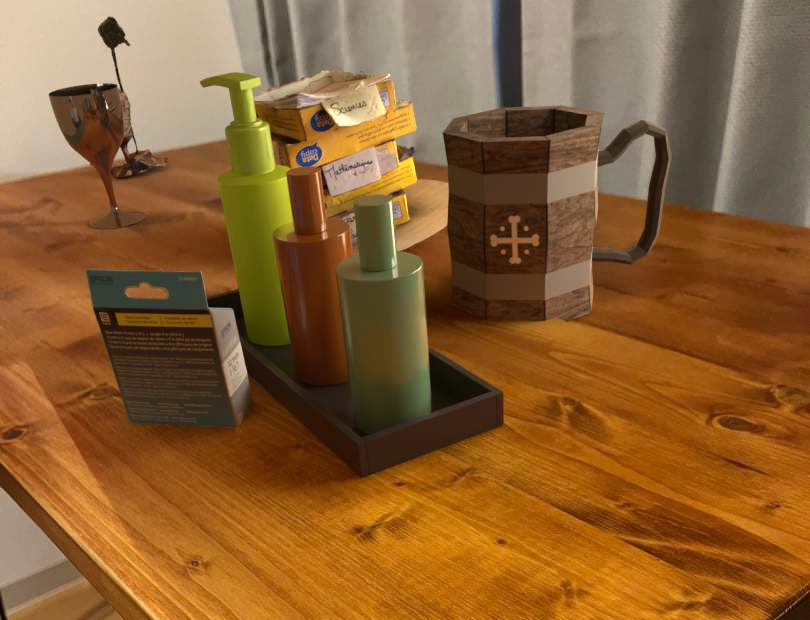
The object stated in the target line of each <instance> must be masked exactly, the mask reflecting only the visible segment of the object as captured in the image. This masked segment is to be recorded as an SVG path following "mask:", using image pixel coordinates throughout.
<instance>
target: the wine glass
mask: <svg viewBox="0 0 810 620" xmlns="http://www.w3.org/2000/svg"><path fill="white" fill-rule="evenodd" d="M118 86H119V85H118V84H116V83H112V82H111V83H108V82H106V83H103V82H101V83H99V82H98V83H88V84H81V85H79V84H78V85H74V86H67V87H63V88H59V89H56V90H53V91H51V92H49V93H48V98H49V102H50V106H51V109H52V112H53V115H54V118H55V120H56V123H57V125H58V127H59V129H60V132H61V134H62V136H63V137H64V139H65V141H66V142H67V144H68V146H70V147H71V148H72V149H73V150H74V152H76V153H77V154H78V155H79V156H81V157H82V158H84V160H86V161H87V162H88V163H89V164H90V163H91V164H92V167H93V168H94V169H95V170H96V171H97V173H98V175H99V176H100V178H101V181H102V183H103V185H104V188H105V191H106V194H107V198H108V201H109V205H110V211H109V212H107V213H105V214H102V215H99V216H97V217H95V218H93V219H91V220H90V221H89V223H88V225H89V227H90V228H92V229H97V230H98V229H99V230H108V229H110V230H111V229H118V228H123V227H128V226H132V225H134V224H135V225H136V224H137V223H139V222H142V221H143V220H145V218H146V217H147V215H146V214H145V213H144V212H142V211H138V210H122V209H120V208H119V206H118V203H117V201H116V200H117V199H116V196H115V191H114V187H113V186H114V185H113V179H112V174H111V169H112V168H113V165H114V161H115V158H116V157H117V154H118V152H119V150H120V149H121V148H120V146H121V144H122V141H123V138H124V115H123V108H122V103H121V98H120V93H119V89H120V88H119V87H118ZM118 88H119V89H118Z"/></svg>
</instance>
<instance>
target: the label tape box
mask: <svg viewBox="0 0 810 620" xmlns="http://www.w3.org/2000/svg"><path fill="white" fill-rule="evenodd" d="M84 272H85V273H84V274H85V277H86V281H87V285H88V286H87V287H88V290H89V295H90V296H89V297H90V301H91V306H92V310H93V313H94V317H95V319H96V321H97V324H98V327H99V330H100V331H99V332H100V334H101V337H102V341H103V343H104V347H105V350H106V353H107V356H108V359H109V362H110V366H111V370H112V372H113V375H114V378H115V380H116V381H115V382H116V385H117V388H118V391H119V394H120V398H121V400H122V404H123V407H124V409H125V413H126V416H127V419H128V422H129V423H132V424H144V425H161V426H162V425H163V426H165V425H166V426H179V427H180V426H181V427H204V428H228V429H232V428H233V429H235V428H236V429H237V428H239V427H240V426H241V424H242V423H243V421H244V420H245V419H246V417H247V416H248V414H249V413H250V411H251V410H252V409H253V407H254V405H255V404H254V403H255V402H254V397H253V393H252V388H251V384H250V380H249V376H248V375H247V370H246V366H245V361H244V357H243V352H242V348H241V343H240V339H239V334H238V330H237V325H236V321H235V316H234V312H233V309H232V308H214V307H208V304H207V298H206V297H207V294H206V293H207V292H206V288H205V282H204V277H203V272H202V271H201V270H191V271H186V270H185V271H183V270H182V271H181V270H179V271H178V270H170V271H169V270H138V269H100V268H88V267H85V269H84ZM143 284H144V285H146V286H148V287H149V288H150V289H156V290H157V289H158V290H162V291H164V293H165V296H164V297H145V296H144V297H143V296H130V295H129V294H128V293H127V290H128V289H140V288H141V285H143Z"/></svg>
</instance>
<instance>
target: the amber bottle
mask: <svg viewBox="0 0 810 620" xmlns="http://www.w3.org/2000/svg"><path fill="white" fill-rule="evenodd" d="M286 178H287V184H288V191H289V198H290V205H291V211H292V218H293V222H290V223H287V224H285V225H282V226H280V227H278V228H277V229H275V230H274V232H273V235H272V236H273V242H274V248H275V254H276V260H277V266H278V273H279V279H280V285H281V291H282V297H283V303H284V309H285V315H286V321H287V328H288V334H289V340H290V346H291V352H292V358H293V364H294V370H295V375H296V377H297V379H298V380H300V381H301V382H303V383H306V384H310V385H316V386H329V385H337V384H342V383H345V382H348V381H349V377H348V369H347V361H346V353H345V345H344V337H343V329H342V321H341V313H340V305H339V297H338V289H337V281H336V273H335V269H336V267H337V265H338V264H339V263H340V262H342V261H344V260H345V259H348V258H350V257H353V249H352V240H351V231H350V225H349V224H348V223H347V222H346V221H343V220H340V219H334V218H326V210H325V202H324V194H323V186H322V178H321V170H320V168H318V167H312V166H306V167H298V168H294V169H291V170H288V171H287V172H286Z"/></svg>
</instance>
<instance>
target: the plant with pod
mask: <svg viewBox="0 0 810 620" xmlns="http://www.w3.org/2000/svg"><path fill="white" fill-rule="evenodd" d="M97 32H98V34H99V36H100V37H101V39H102V41H103V43H104V45H105V46H106V47H107V48H108V49H110V53H111V57H112V61H113V64H114V65H113V66H114V67H115V68H114V70H115V75H116V80H117V84H118V86H119V87H118V89H119V93H120V98H121V103H122V108H123V115H124V138H123V141H122V144H121V146H120V148H119V149H121V153H122V154H123V157H124V161H125V163H123V164H121V165H114V166H112V169H111V177H113V178H123V177H127V176H131V177H132V176H133V175H134V176H135V175H137V174H140V173H143V172H144V173H145V172H147V171H148V170H150V169H152V168H156V167H168V165H169V163H168V159H169V157H166V158H162V157H157V156H155V155H152V151H151V150H150V149H149V148H148V149H144V150H139V149H138V146H137V141H136V138H135V134H134V133H135V132H134V128H133V127H132V120H131V119H132V117H131V102H130V101H129V100H130V99H129V97H128V95H127V93H126V92H125V90H124V87H123V85H122V81H121V77H120V73H119V68H118V61H117V55H116V48H118V46H119V45H122V44H125V45H126V46H127V47H131V43H130V42H129V41H128V39H127V38H126V33H125V31H124V29H123V28H122V26H121V25H120V24H119V23H118V21H117V19H116V18H115V17H113V16H111V15H110V16H107V17H106V18H105V19H104V20H103V21H102V22H100V24H99V25H98V27H97ZM131 140H133V143H134V145H135V151H134V152H130V151H129V149H128V146H129V142H131ZM89 166H92V167H93V165H92V164H91V163H90V162H89Z"/></svg>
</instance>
